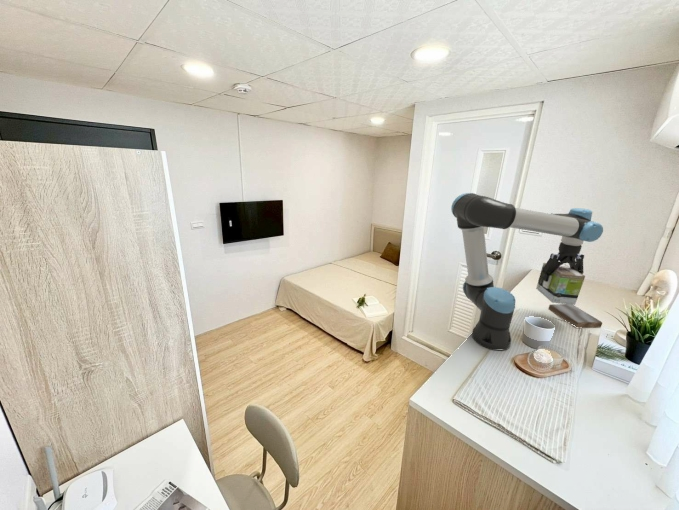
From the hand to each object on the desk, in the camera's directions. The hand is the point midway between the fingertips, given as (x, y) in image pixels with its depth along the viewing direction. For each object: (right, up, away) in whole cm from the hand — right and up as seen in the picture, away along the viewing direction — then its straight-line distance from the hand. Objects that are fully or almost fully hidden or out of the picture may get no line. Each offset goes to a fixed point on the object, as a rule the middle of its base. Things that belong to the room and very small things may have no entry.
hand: (557, 287), depth 124 cm
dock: (+15, -17, +8) cm, 23 cm away
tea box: (0, -5, +2) cm, 5 cm away
